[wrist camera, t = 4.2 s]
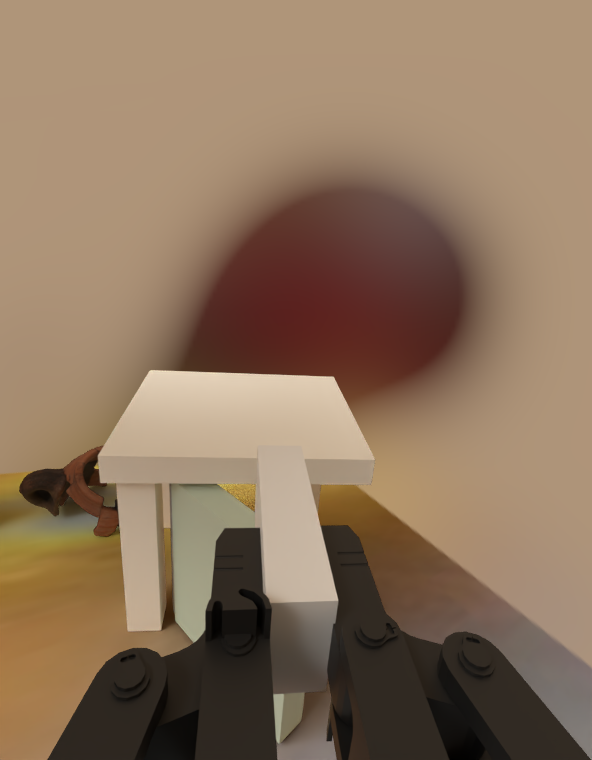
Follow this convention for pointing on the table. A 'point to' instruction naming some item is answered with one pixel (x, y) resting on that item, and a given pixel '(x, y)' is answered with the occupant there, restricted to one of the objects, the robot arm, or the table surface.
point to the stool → (215, 455)
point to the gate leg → (210, 568)
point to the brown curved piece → (72, 490)
